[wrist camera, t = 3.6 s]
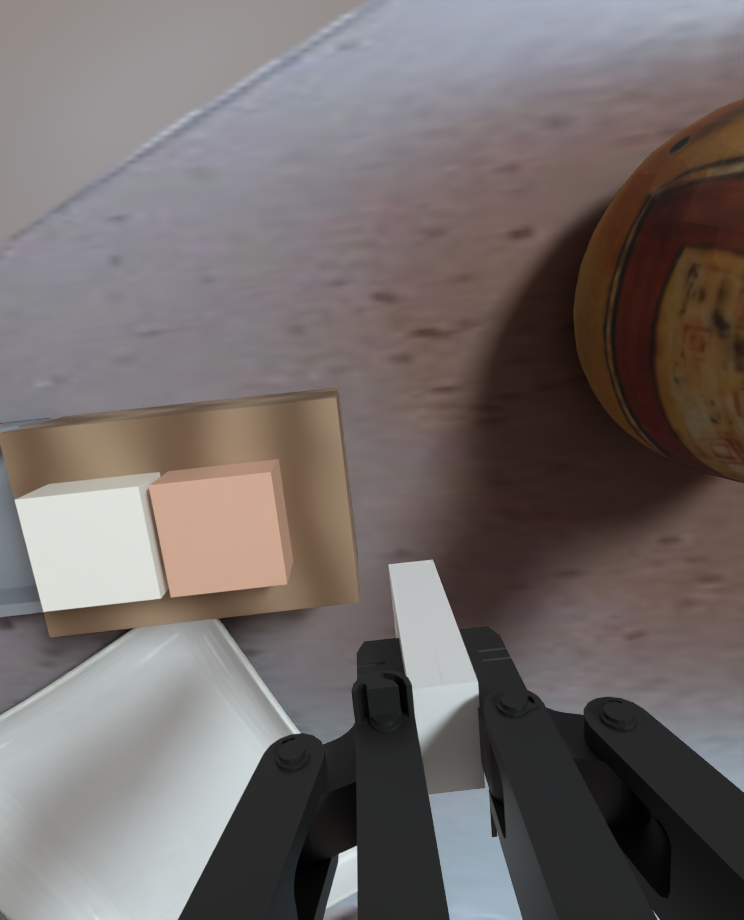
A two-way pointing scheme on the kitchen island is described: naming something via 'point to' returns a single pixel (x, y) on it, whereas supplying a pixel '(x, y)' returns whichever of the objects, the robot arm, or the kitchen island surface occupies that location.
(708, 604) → the kitchen island surface
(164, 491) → the terracotta tile
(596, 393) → the ceramic pitcher
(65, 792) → the square plate
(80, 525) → the cream tile
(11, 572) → the bin
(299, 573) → the brushed bronze panel
